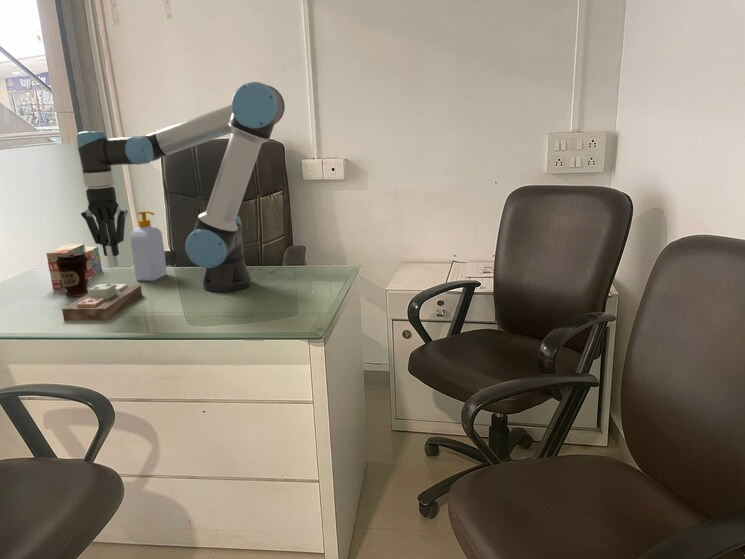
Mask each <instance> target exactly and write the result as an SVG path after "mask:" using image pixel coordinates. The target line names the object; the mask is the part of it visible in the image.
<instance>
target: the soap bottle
mask: <svg viewBox="0 0 745 559" xmlns="http://www.w3.org/2000/svg"><path fill="white" fill-rule="evenodd" d="M147 214H149V215H152V216H154V215H155V212H152V211H149V210H145V211H141V212H138V213H137V215H141V219H140V220H138V223H139V226H137V227H135V228H134V229H133V230H132V232H131V234H130V245H131V252H132V254H131V255H132V260H133V267H134V274H135V280H136V281H141V282H142V281H145V282H147V281H148V282H155V281H156V280H159V279H160V278H162V277H164V276H167V273H168V272H167V271H168V270H167V264H166V256H165V255H166V254H165V246H164V241H163V240H164V238H163V234H162V230H160V228H158V227H156V226H155V227H153V226H152V224H151V219H147Z"/></svg>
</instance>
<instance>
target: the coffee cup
mask: <svg viewBox="0 0 745 559" xmlns="http://www.w3.org/2000/svg"><path fill="white" fill-rule="evenodd" d="M87 261H88V258H87V257H86V256H85V255H84V253H82V252H76V253H66V254H60V255H58V259H57V261H56V263H57V265H58V266H59V272H60V276H61V279H62V282H63V286H64V287H65V288H64V289H65V291H66V292H65V296H66V297H69V298H70V297H73V298H74V297H81V296H82V297H83V296H85V295H87V294H89V293H90V291H89V290H88V281H89V279H88V270H87Z"/></svg>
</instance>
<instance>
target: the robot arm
mask: <svg viewBox="0 0 745 559" xmlns="http://www.w3.org/2000/svg"><path fill="white" fill-rule="evenodd" d="M285 109H286V107H285V100H284V98H283V96H282V94H281V93H280V92H279V91H278V89H276V87H273V86H271V85H268V84H265V83H262V82H260V81H252V82H247V83H245V84H242V85H241V86H240V87H239V88H237V89H236V90H235V92H234V93H233V96H232V98H231V104H229V105H227V106H224V107H221V108H219V109H216V110H212V111H211V112H207V113H205V114H201V115H198V116H196V117H194V118H193V117H192V118H190V119H187V120H184V121H182V122H179V123H175V124H173V125H170V126H167V127H165V128H162V129H160V130H159V129H158V130H157V131H153V132H151V133H148V134H144V135H141V136H134V135H133V136H125V137H124V136H123V137H121V136H120V137H107V135H106V132H105V131H104V130H96V131H93V130H92V131H79V132H78V133H77V134H76V143H77V151H78V155H79V158H80V159H79V160H80V164H81V169H82V171H81V172H82V177H83V183H84V187H86V189H85V193H86V199H87V202H88V205H87V209H86V210H85V211H83V212H81V213H80V215H81V217H82V218H83V219H84V220H85V222H86V224H87V227H88V230H89V231H90V234H91V237H92V238H93V241H94V243H95V244H96V245H100V246H102V251H103V254H104V257H107V262H108V268H109V269H110V268H111V269H112V268H116V267H118V266H119V261H118V255H120V251H119V244H120V243H122V242H124V240H125V238H124V236H125V226H126V217H127V215H128V212H129V211H128V210H127V209H123V208H121V207H120V205H119V203H118V202H117V195H116V189H115V187H114V186H113V185H114V178H113V171H112V166H116V165H117V166H119V165H124V166H126V165H127V166H128V165H137V166H140V165H145V164H150V163H151V162H156V161H157V160H160V159H162V158H164V157H166V156H169V155H172V154H174V153H177V152H179V151H180V152H181V151H183V150H186V149H189V148H192V147H195V146H197V145H198V146H199V145H200V144H203V143H206V142H209V141H211V140H215V139H218V138H220V137H224V136H226V135H229V134H230V137H229V140H228V143H227V146H226V148H225V149H226V150H225V152H224V155H223V158H222V160H221V164H220V166H219V167H220V168H219V171H218V173H217V177H216V179H215V183H214V185H213V188H212V192H211V195H210V196H209V197H210V198H209V199H208V203H207V206H206V210H205V211H203V212H202V213H199V214H198V216H197V218H196V219H197V220H196V222H195V225H194V227H193V231H192V232H191V233H190V234H188V236H187V237H186V240H185V245H184V248H185V254H186V256H187V257H188V259H189V260H190V261H191V262H192V263H193V264H194V265H195V266H198V267H200V268H204V269H205V270H204V276H203V279H202V280H203V281H202V285H203V289H204V290H206V291H209V292H215V293H219V292H220V293H223V292H224V293H227V292H235V290H236V291H239V289H240V290H243V288H244V289H246V288H249V287H250V286H251V285H252V277H251V273H250V272H249V270H248V267H247V265H246V263H245V258H244V256H245V255H244V245H243V244H244V243H243V233H242V232H243V231H242V228H243V225H242V222H241V217H240V216H238V214H239V211H240V208H241V205H242V203H243V199H244V196H245V194H246V190H247V187H248V184H249V182H250V180H251V175H252V173H253V170H254V167H255V164H256V163H257V162H256V161H257V159H258V156H259V153H260V149H261V147H262V144H264V143H267V142H268V141H270V138H271V135H272V132H273V130H274V128H275V125H277V123H279V122H280V120H282V117H283V116H284V115H285V114H284V113H285ZM115 215H117V219H116V218H115ZM94 217H95V218H94ZM115 220H116V222H115ZM250 284H251V285H250ZM249 285H250V286H249ZM245 287H246V288H245Z"/></svg>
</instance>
